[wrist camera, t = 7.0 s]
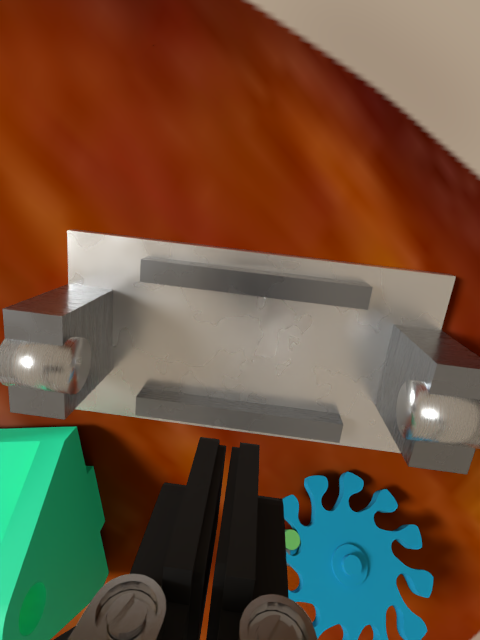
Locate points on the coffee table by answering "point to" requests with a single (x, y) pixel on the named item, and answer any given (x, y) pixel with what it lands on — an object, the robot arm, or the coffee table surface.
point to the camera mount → (47, 532)
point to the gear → (352, 562)
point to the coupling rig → (248, 347)
